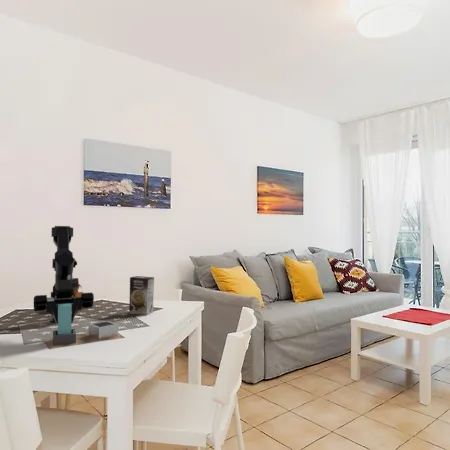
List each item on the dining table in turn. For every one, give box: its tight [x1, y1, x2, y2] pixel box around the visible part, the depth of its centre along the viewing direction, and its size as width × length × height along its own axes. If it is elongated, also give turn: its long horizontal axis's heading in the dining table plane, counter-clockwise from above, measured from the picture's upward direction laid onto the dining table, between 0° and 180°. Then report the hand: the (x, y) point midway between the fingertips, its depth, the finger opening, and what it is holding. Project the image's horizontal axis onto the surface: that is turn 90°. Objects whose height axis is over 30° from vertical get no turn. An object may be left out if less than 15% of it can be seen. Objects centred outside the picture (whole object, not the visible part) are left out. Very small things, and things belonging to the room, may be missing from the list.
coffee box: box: [128, 275, 155, 316], centre depth 176 cm, size 9×6×16 cm
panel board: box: [42, 332, 125, 350], centre depth 133 cm, size 24×12×1 cm, turn 124°
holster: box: [52, 328, 77, 345], centre depth 129 cm, size 7×7×3 cm
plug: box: [57, 303, 72, 335], centre depth 129 cm, size 4×4×12 cm
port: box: [88, 320, 119, 340], centre depth 136 cm, size 7×7×4 cm
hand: (64, 323), depth 128 cm, fingers closed on plug, 4 cm apart
